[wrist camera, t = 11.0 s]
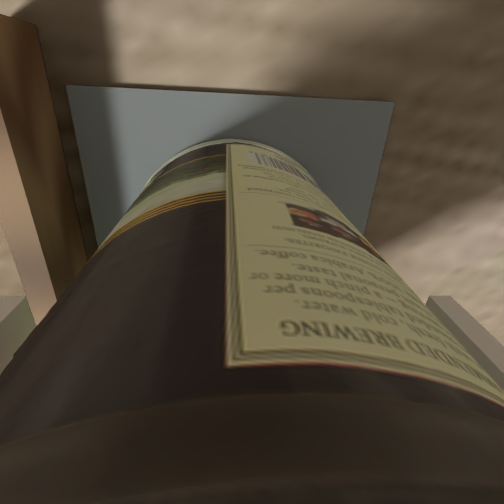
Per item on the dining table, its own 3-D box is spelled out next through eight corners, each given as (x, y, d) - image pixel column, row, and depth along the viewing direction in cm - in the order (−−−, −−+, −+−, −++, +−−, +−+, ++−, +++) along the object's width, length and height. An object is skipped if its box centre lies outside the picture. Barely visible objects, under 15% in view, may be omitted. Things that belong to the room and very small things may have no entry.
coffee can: (146, 319, 19) (-16, 790, 6) (117, 135, 14) (-856, 576, 1) (317, 316, 19) (479, 727, 7) (346, 140, 15) (1023, 451, 2)
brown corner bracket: (2, 22, 12) (-76, 0, 9) (492, 55, 14) (569, 46, 11) (91, 363, 20) (66, 412, 17) (388, 358, 22) (415, 402, 19)
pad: (68, 84, 13) (65, 84, 13) (391, 101, 14) (395, 102, 14) (118, 339, 20) (117, 342, 19) (337, 337, 21) (339, 340, 20)
